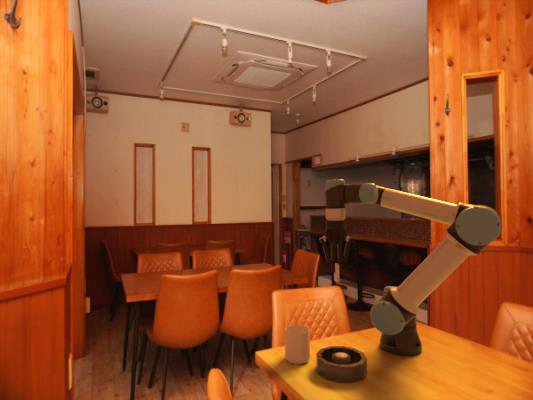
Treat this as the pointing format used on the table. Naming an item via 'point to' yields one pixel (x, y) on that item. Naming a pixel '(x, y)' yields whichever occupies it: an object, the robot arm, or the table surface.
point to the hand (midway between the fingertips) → (336, 281)
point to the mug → (297, 344)
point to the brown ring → (341, 372)
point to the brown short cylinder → (341, 358)
